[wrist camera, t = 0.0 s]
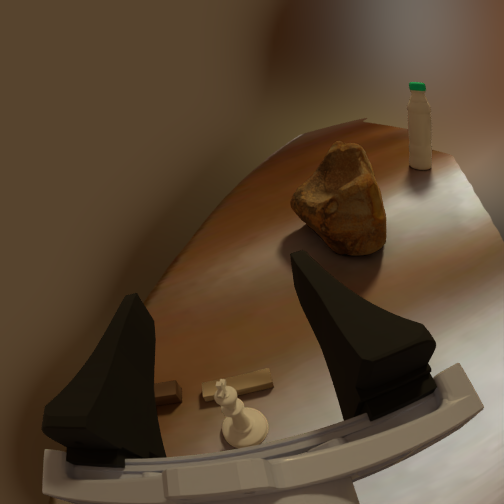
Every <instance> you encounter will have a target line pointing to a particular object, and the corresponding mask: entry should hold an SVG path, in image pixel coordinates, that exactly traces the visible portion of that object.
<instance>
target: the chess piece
mask: <svg viewBox="0 0 504 504" xmlns="http://www.w3.org/2000/svg"><path fill="white" fill-rule="evenodd" d="M216 388H217V389H218V390H217V391H216V392H215V394H214V399H215V401H216V403H217V404H219V405H220V406H221V411H222V413H223V414H224V415H225V416H226V418H225V420H224V422H223V425H222V433H223V435H224V438H225V440H226V441H227V442H228V443H229V444H230V445H231V446H233V447H236V448H245V447H250V446H255V445H259V444H260V443H261V442H262V441H263V440H264V439H265V437H266V436H267V433H268V428H269V426H268V422H267V419H266V418H265V416H264V415H263V414H262V413H261V412H259V411H258V410H256V409H253V408H244V404H243V402H242V401H241V400H240V399H238V398H237V392H236V390H235V389H234V388H233V387H231V386H226V380H225V379H220V382H216Z"/></svg>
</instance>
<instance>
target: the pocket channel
mask: <svg viewBox="0 0 504 504" xmlns="http://www.w3.org/2000/svg"><path fill="white" fill-rule="evenodd" d="M224 379H225V380H226V386H231V387H233V388H234V389H235V390H236V392H237V396H238V395H242V394H247V393H251V392H256V391H260V390H264V389H268V388H272V387H274V386H273V382H272V378H271V374H270V370H269V368H267V369H263V370H259V371H255V372H251V373H246V374H242V375H238V376H233V377H229V378H224ZM216 382H220V379H219V380H214V381H209V382H204V383H202V392H203V398H204V399H205V401H206V402H207V401H213V400H215V399H214V394H215V392H216V391H217V390H218V389H217V388H216Z"/></svg>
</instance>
